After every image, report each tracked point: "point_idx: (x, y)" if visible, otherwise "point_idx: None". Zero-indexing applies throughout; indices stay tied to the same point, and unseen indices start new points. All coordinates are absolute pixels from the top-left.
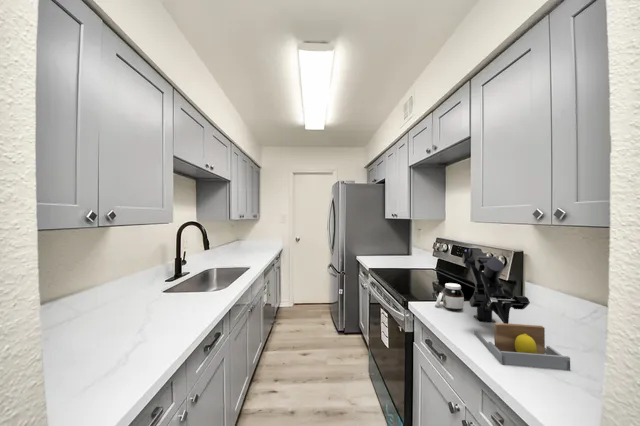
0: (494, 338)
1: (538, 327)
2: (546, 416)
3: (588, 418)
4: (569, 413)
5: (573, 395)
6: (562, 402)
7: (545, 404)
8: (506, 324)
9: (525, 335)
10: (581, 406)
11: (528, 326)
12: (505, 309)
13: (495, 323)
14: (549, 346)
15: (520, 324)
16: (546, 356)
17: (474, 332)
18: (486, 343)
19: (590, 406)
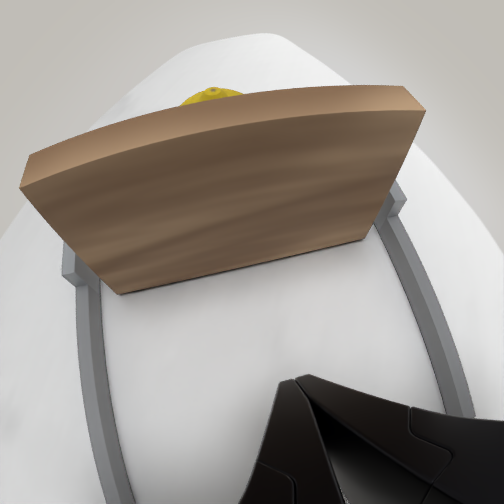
0: (386, 196)
1: (70, 138)
2: (263, 35)
3: (192, 47)
4: (219, 46)
5: (174, 81)
6: (215, 59)
7: (253, 49)
8: (338, 98)
9: (216, 88)
10: (182, 62)
11: (145, 116)
12: (342, 502)
13: (415, 100)
14: (64, 266)
15: (202, 129)
16: None
17: (468, 412)
18: (410, 242)
19: (163, 68)
